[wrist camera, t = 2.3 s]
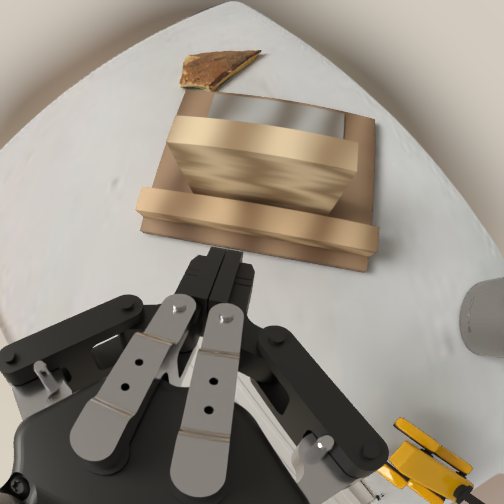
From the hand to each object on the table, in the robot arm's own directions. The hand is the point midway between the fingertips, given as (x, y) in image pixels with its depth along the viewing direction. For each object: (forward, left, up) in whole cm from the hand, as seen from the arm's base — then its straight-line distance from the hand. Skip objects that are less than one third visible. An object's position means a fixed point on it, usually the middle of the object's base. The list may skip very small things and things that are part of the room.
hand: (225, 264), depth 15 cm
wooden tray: (0, -13, -17) cm, 21 cm away
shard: (+10, -29, -17) cm, 35 cm away
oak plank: (0, -10, -16) cm, 19 cm away
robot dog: (-24, +17, -17) cm, 34 cm away
